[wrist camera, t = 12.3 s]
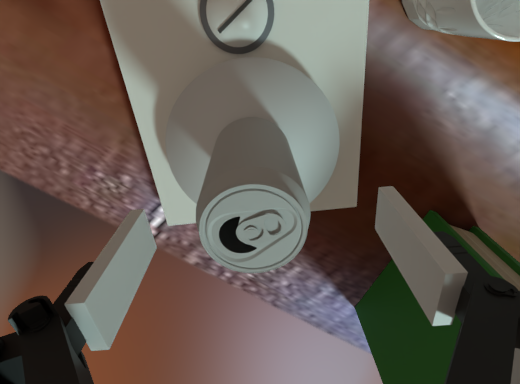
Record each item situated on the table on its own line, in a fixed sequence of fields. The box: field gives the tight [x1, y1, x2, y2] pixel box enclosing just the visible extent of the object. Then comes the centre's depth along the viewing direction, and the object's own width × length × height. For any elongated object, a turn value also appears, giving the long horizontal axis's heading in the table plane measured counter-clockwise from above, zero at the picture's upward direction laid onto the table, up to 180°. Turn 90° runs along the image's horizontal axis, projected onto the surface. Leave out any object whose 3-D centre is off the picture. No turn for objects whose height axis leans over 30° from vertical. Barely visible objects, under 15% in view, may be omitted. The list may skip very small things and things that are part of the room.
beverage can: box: [196, 117, 311, 273], centre depth 21 cm, size 6×6×12 cm
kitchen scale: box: [100, 0, 369, 226], centre depth 27 cm, size 20×22×5 cm
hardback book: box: [355, 210, 520, 384], centre depth 29 cm, size 18×7×24 cm, turn 158°
